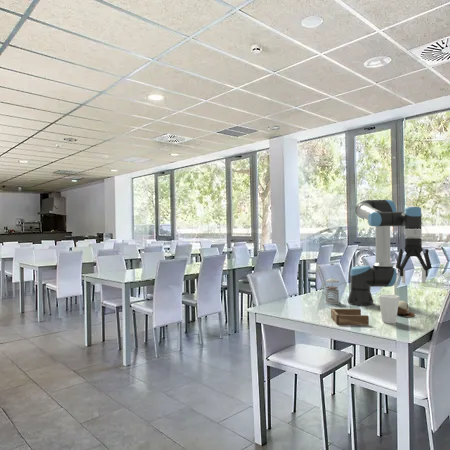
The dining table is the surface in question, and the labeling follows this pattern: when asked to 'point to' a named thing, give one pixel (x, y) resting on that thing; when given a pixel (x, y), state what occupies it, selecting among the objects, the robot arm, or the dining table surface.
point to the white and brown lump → (404, 309)
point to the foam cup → (389, 307)
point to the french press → (333, 290)
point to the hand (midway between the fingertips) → (413, 283)
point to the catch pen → (349, 317)
